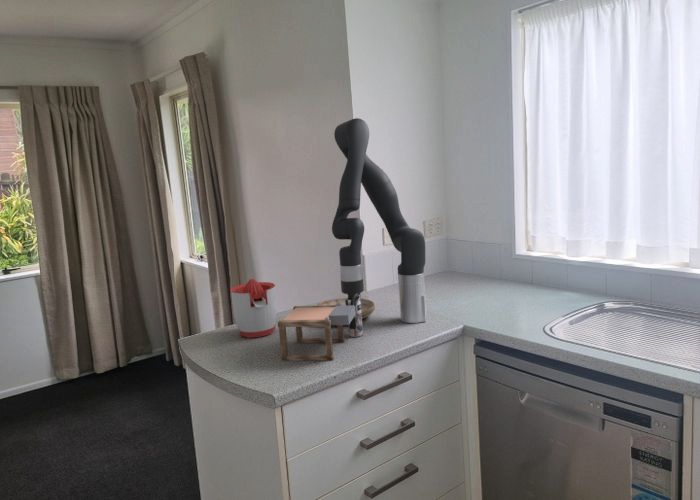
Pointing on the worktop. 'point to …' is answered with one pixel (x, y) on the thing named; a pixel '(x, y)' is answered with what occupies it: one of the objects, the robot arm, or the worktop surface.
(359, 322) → the beer can
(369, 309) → the ceramic bowl
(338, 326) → the frame
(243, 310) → the citrus juicer
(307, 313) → the trapdoor
